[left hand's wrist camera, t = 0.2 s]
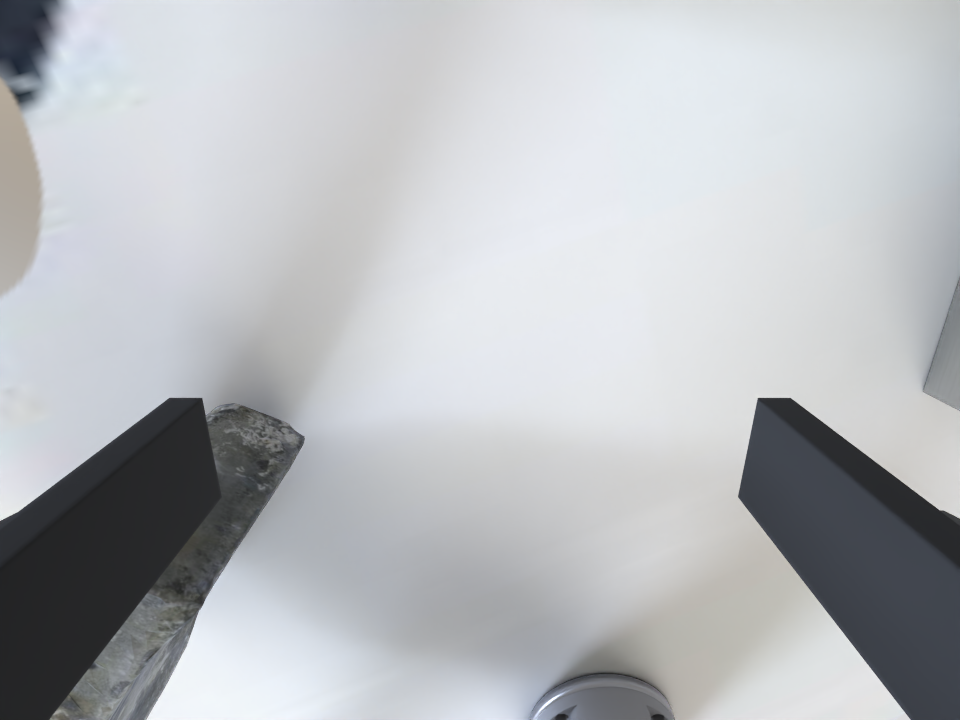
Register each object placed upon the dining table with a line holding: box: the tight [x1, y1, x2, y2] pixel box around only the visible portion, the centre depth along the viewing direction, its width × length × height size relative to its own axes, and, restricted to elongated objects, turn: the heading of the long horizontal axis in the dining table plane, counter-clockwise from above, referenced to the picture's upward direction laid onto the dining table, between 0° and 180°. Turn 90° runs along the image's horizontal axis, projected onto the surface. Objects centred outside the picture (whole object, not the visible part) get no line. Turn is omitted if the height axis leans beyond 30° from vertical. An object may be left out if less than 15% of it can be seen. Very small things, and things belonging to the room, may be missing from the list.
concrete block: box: [49, 404, 305, 720], centre depth 37 cm, size 27×9×20 cm, turn 147°
